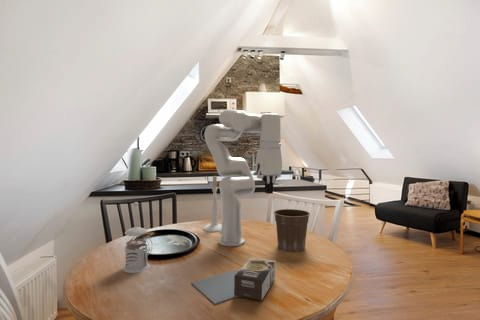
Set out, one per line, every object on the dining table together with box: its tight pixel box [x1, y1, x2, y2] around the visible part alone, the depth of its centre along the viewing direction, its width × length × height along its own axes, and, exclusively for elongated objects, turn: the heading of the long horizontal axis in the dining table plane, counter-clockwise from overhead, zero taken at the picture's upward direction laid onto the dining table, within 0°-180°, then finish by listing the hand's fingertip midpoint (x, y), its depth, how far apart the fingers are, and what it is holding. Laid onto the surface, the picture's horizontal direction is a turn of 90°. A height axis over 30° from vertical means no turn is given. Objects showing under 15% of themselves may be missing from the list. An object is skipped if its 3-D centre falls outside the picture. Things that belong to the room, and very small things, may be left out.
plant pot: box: [273, 208, 311, 252], centre depth 133 cm, size 16×16×16 cm
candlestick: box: [203, 175, 222, 233], centre depth 163 cm, size 13×13×30 cm
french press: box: [122, 201, 153, 274], centre depth 110 cm, size 10×12×25 cm
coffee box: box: [234, 257, 276, 301], centre depth 95 cm, size 9×6×16 cm
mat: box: [190, 269, 240, 306], centre depth 97 cm, size 16×18×1 cm
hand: (268, 193), depth 114 cm, fingers closed
